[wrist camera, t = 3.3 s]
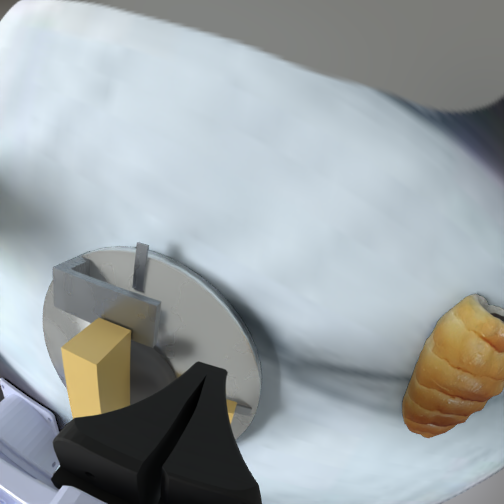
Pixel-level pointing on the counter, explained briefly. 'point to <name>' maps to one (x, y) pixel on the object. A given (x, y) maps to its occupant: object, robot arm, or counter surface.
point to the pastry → (456, 368)
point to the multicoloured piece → (112, 370)
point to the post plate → (178, 324)
